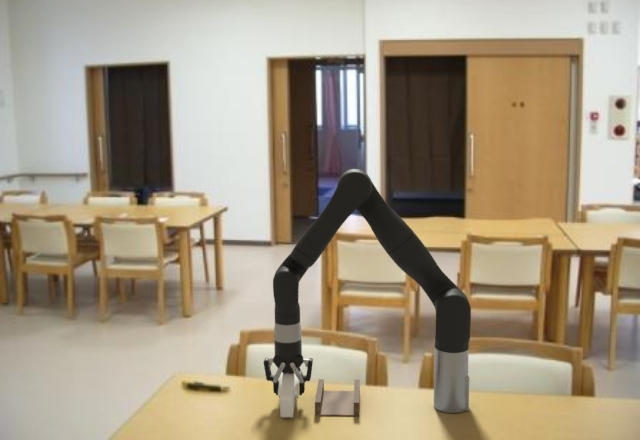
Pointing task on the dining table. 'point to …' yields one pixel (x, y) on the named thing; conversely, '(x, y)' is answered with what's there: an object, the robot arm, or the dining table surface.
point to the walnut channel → (337, 401)
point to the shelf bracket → (288, 393)
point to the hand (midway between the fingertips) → (289, 394)
